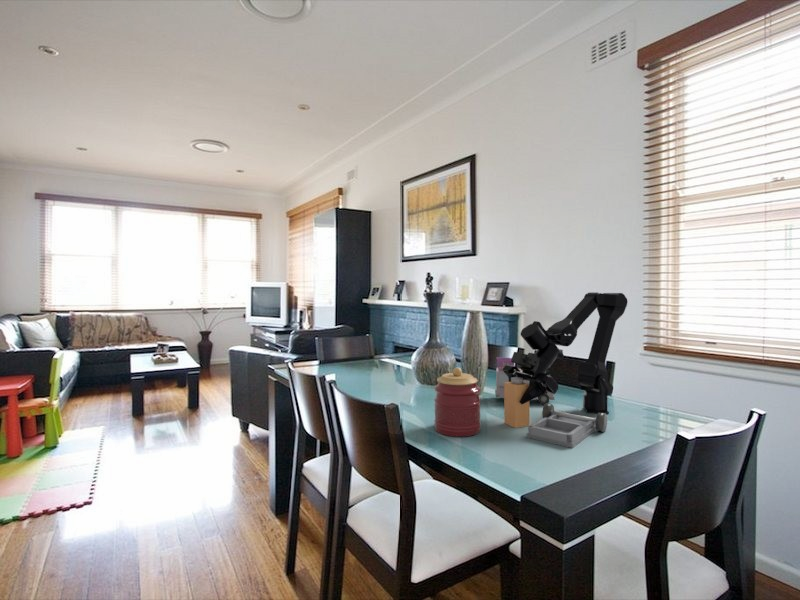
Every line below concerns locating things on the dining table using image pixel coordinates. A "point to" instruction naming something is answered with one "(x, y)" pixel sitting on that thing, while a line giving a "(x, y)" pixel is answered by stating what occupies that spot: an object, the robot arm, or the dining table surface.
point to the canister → (457, 404)
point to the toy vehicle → (503, 378)
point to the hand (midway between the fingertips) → (513, 400)
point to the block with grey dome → (515, 403)
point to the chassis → (565, 427)
